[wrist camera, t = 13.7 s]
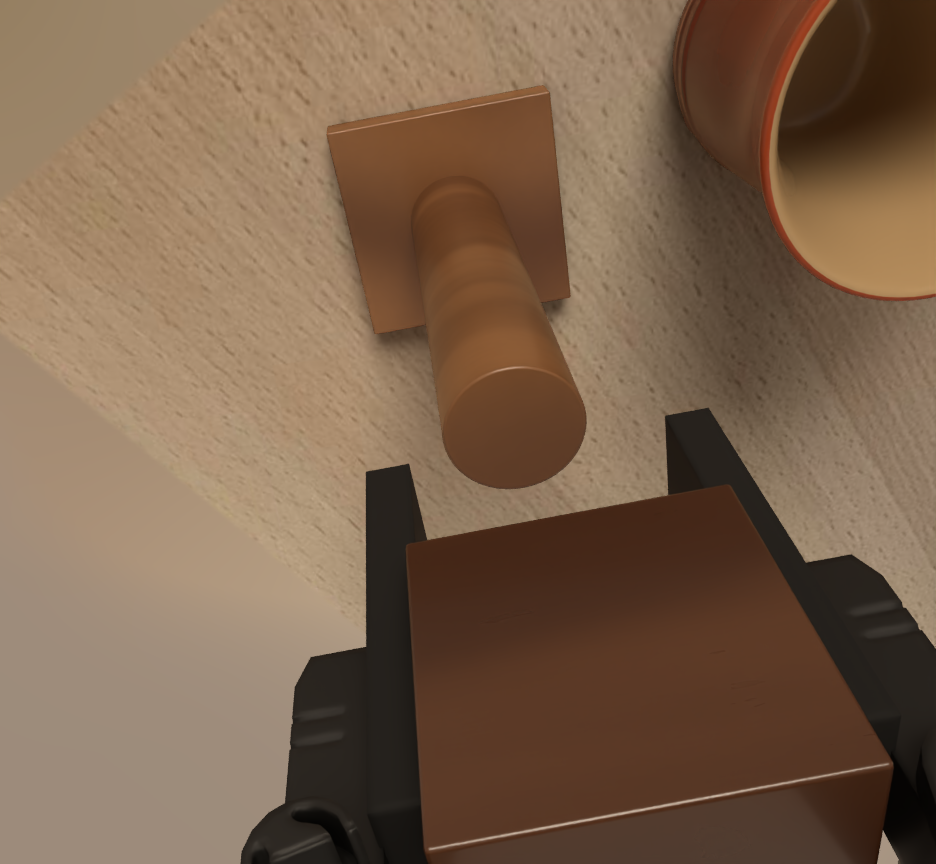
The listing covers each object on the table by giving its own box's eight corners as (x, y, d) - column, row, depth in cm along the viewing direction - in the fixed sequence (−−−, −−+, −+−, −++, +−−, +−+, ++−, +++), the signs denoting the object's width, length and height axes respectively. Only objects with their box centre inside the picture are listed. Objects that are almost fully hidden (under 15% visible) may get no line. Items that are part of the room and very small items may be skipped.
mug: (610, 164, 30) (714, 285, 21) (680, -144, 25) (849, -151, 16) (932, 203, 32) (1147, 328, 23) (1050, -76, 27) (1374, -51, 18)
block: (403, 542, 12) (421, 853, 8) (729, 481, 12) (896, 765, 8) (457, 749, 14) (491, 1061, 11) (728, 699, 14) (856, 993, 11)
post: (326, 125, 28) (304, 310, 16) (544, 84, 28) (678, 239, 16) (374, 323, 32) (383, 587, 20) (565, 286, 32) (686, 529, 20)
